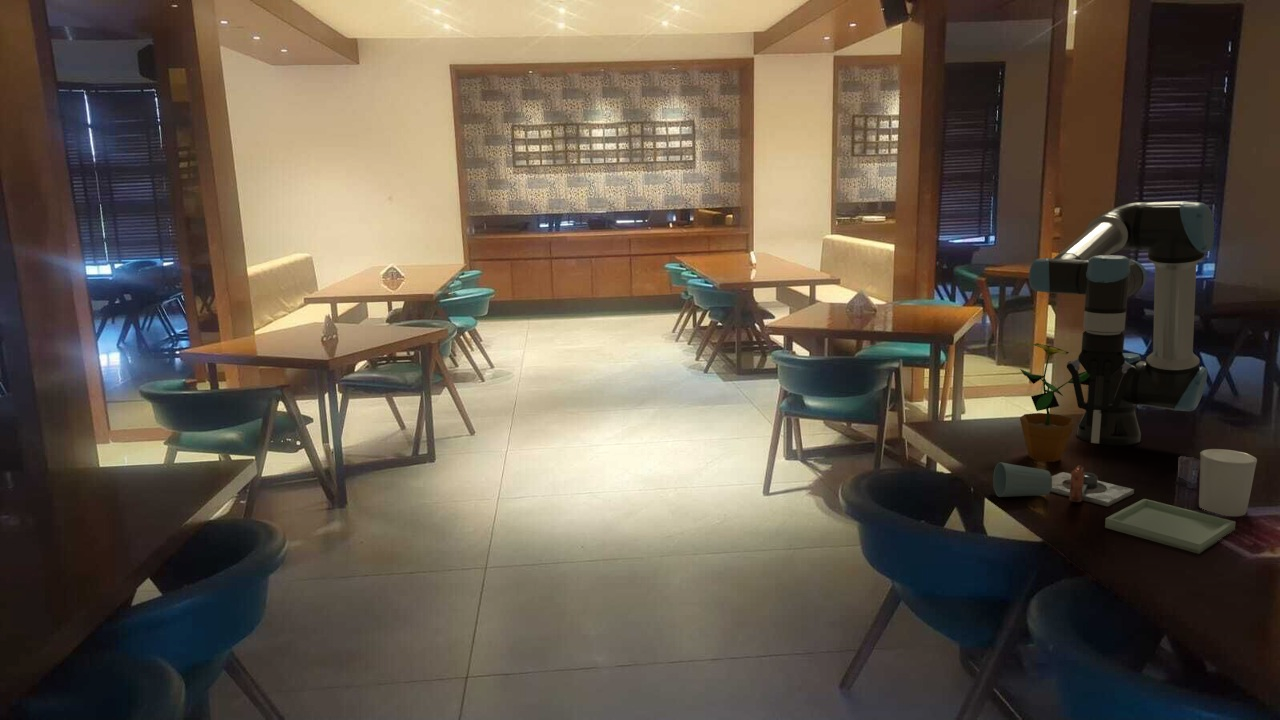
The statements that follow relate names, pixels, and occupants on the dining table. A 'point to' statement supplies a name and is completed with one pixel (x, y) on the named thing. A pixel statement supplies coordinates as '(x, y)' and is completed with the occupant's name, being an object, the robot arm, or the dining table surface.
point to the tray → (1170, 525)
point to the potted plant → (1047, 418)
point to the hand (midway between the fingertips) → (1095, 441)
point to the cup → (1020, 481)
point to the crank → (1081, 483)
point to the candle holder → (1225, 481)
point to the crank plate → (1092, 490)
